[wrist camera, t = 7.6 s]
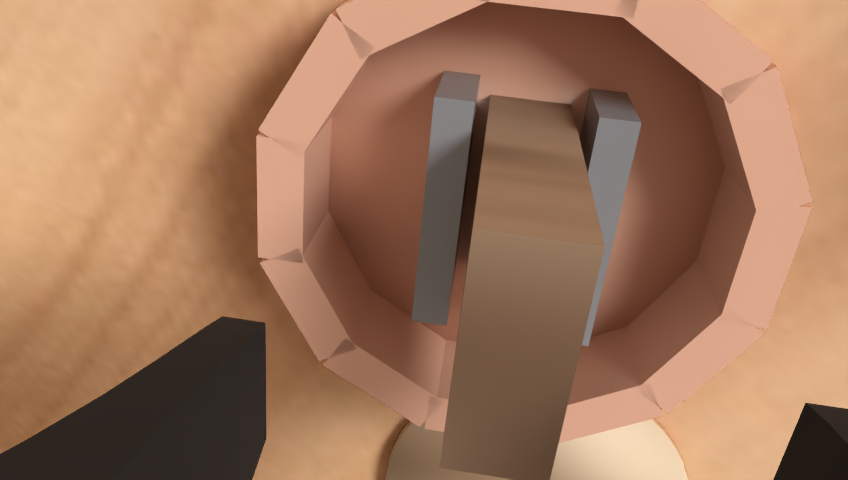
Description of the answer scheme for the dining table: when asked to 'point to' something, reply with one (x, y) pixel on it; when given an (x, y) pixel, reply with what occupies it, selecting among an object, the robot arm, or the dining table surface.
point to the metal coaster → (574, 462)
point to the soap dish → (459, 175)
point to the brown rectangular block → (522, 293)
